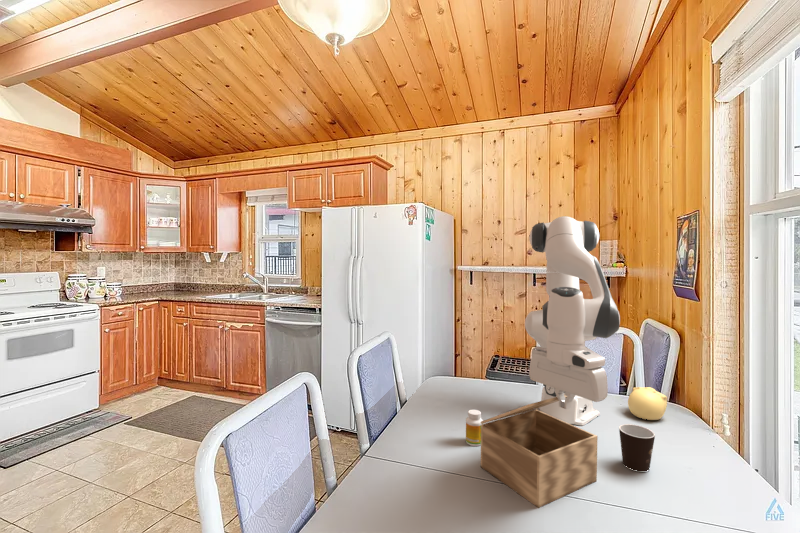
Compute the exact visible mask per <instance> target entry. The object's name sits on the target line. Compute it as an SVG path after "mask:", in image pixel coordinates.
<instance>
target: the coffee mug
mask: <svg viewBox="0 0 800 533" xmlns="http://www.w3.org/2000/svg"><path fill="white" fill-rule="evenodd" d="M618 431H619V441H620V449H621V459H622V465H623V464H624V465H625V466H627V467H628V468H631V469H633V470H637V471H647V470H649V471H650V469H649V468H650V467H651V462H652V457H653V452H654V451H653V449H654V443H655V437H656V434H655V432H654V431H653V430H651V429H650V428H648V427H644V426H642V425H637V424H630V423H626V424H621V425H619V427H618ZM624 465H623V466H624ZM625 466H624V467H625ZM627 467H626V468H627ZM628 468H627V469H628ZM633 470H632V471H633Z"/></svg>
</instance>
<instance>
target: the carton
mask: <svg viewBox="0 0 800 533" xmlns="http://www.w3.org/2000/svg"><path fill="white" fill-rule="evenodd" d="M598 438H599V437H598V435H596V434H595V433H592V432H591V431H590V432H589V431H587V430H585V429H582V428H580V427H578V426H575V425H574V424H569V423H566V422H564V421H562V420H560V419H557V418H555V417H553V416H550V415H548V414H546V413H543V412H541V411H540V409H533V410H530V411H526V412H522V413H519V414H515V415H512V416H508V417H505V418H501V419H497V420H494V421H490V422H487V423H483V424H482V425H481V445H480V468H481V469H482V470H484V471H485V472H486V473H488V474H490V475H491V476H492V477H494V478H495V479H497V480H498V481H500V482H501V483H502V484H504V485H505V486H507V487H508V488H510V489H511V490H512V491H514V492H515V493H517V494H518V495H519V496H521V497H522V498H524V499H525V500H526V501H528V502H529V503H531V504H532V505H534V506H535V507H536V508H538V509H540V508H543V507H544V506H546V505H549V504H550V503H553V502H555V501H557V500H559V499H562V498H563V497H566V496H568V495H570V494H572V493H574V492H576V491H578V490H581V489H583V488H585V487H587V486H589V485H591V484H594V483H596V482H597V480H598V479H597V478H598V477H597V473H598Z"/></svg>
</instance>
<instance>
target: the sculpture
mask: <svg viewBox="0 0 800 533" xmlns="http://www.w3.org/2000/svg"><path fill="white" fill-rule="evenodd" d="M667 404H668V397H667V396H666V395H665V394H663V393H661V392H659V391H657V390H656V389H655V388H653V387H649V386H648V387H647V386H646V387H644V386H643V387H642V386H635V387H632V392H630V393H629V395H628V398H627V406H628V408H629V411H630V412H631V415H632V414H633V416H635V417H637V418H638V419H641V418H642V419H641V420H646V419H647V421H657V420H660V419H662V418H663V417H664V415H665V413H666V410H667V407H668V405H667Z"/></svg>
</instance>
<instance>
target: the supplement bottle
mask: <svg viewBox="0 0 800 533" xmlns="http://www.w3.org/2000/svg"><path fill="white" fill-rule="evenodd" d="M467 415H468V416H467V417H466V418H465V419H466V420H465V442H466V444H468V446H469V445H470V446H472V447H479V446H480V447H481V425H482V424H481V421H484V420H483V419H482V412H481V411H480V410H478V409H469V410H468V411H467Z"/></svg>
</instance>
